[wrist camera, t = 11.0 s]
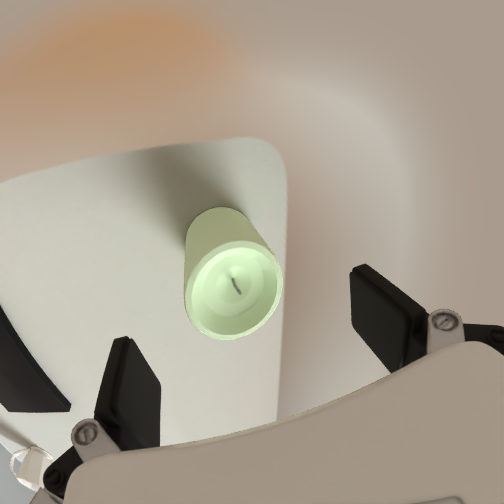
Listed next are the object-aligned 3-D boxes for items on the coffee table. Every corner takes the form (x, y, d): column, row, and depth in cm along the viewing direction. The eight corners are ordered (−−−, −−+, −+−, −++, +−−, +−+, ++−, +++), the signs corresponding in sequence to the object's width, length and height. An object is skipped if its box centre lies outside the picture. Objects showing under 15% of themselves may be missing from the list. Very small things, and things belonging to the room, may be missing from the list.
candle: (227, 192, 19) (251, 225, 11) (268, 244, 21) (310, 301, 13) (171, 237, 19) (160, 296, 12) (215, 284, 21) (230, 358, 14)
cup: (65, 465, 29) (60, 500, 21) (24, 453, 26) (17, 484, 19) (48, 447, 26) (40, 485, 19) (6, 433, 24) (-4, 467, 17)
